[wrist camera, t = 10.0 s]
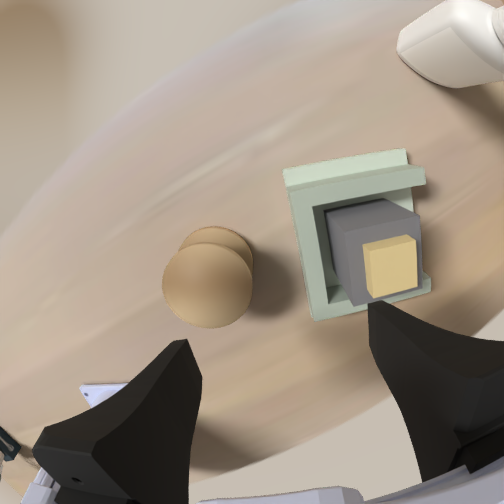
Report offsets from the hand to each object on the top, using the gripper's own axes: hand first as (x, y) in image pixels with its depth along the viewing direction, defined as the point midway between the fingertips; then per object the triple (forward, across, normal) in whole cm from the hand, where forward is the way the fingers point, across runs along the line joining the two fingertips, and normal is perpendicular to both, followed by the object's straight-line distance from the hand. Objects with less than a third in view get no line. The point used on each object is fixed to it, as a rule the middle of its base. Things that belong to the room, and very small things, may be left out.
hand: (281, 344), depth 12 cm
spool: (+10, +4, -1) cm, 10 cm away
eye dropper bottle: (+10, -14, -12) cm, 20 cm away
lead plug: (+9, -6, -1) cm, 10 cm away
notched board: (+9, -6, -1) cm, 11 cm away
